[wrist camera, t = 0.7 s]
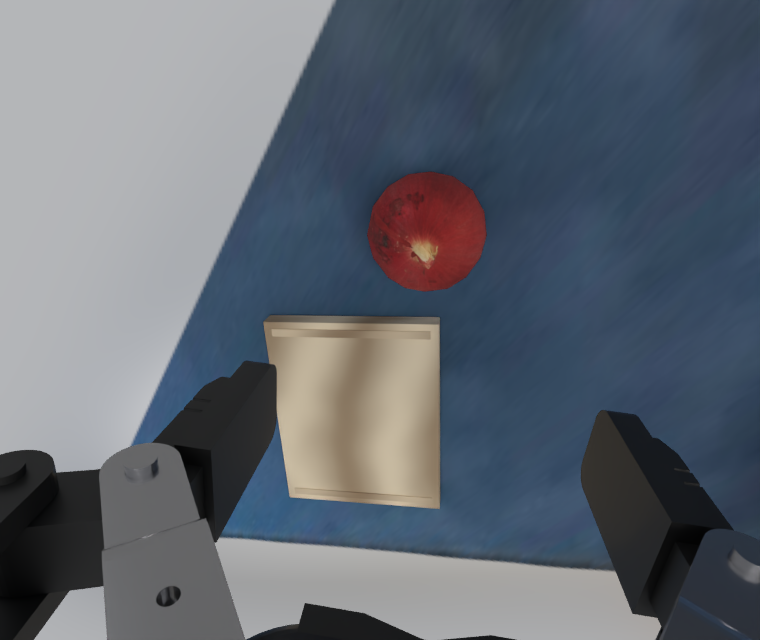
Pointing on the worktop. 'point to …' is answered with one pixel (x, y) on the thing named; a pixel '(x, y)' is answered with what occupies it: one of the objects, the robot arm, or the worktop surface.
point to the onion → (427, 231)
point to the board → (359, 407)
